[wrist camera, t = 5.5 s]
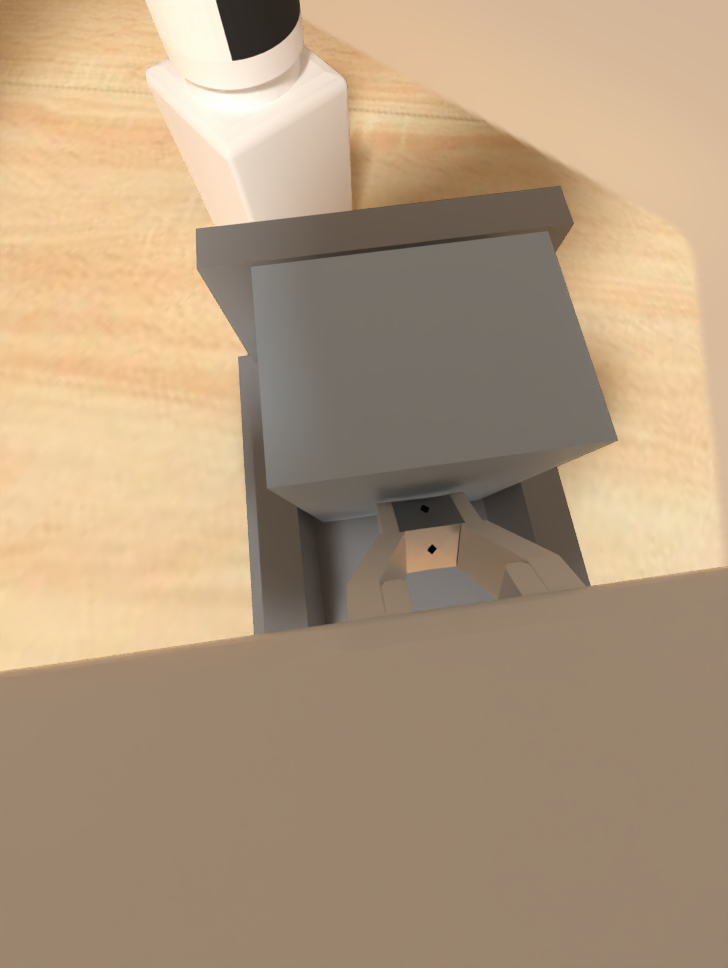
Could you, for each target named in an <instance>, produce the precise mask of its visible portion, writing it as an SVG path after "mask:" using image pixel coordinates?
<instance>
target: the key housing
mask: <svg viewBox="0 0 728 968" xmlns="http://www.w3.org/2000/svg"><path fill="white" fill-rule="evenodd" d="M573 224H574V223H573V220H572V218H571V215H570V212H569V209H568V206H567V204H566V201H565V198H564V195H563V193H562V190H561V187H560V186H556V187H548V188H539V189H531V190H522V191H514V192H505V193H497V194H488V195H480V196H471V197H463V198H454V199H446V200H437V201H429V202H420V203H412V204H403V205H395V206H386V207H378V208H369V209H360V210H352V211H343V212H335V213H326V214H318V215H309V216H301V217H292V218H284V219H275V220H267V221H258V222H250V223H241V224H233V225H224V226H216V227H207V228H199V229H196V254H197V270H198V272H199V273H200V275H201V276H202V278H203V280H204V281H205V283H206V285H207V286H208V288H209V290H210V291H211V293H212V295H213V296H214V298H215V300H216V301H217V303H218V305H219V306H220V308H221V309H222V311H223V313H224V314H225V316H226V318H227V319H228V321H229V323H230V324H231V326H232V328H233V329H234V331H235V333H236V334H237V336H238V337H239V339H240V341H241V342H242V344H243V346H244V347H245V349H246V351H247V352H248V354H249V355H247V356H240V357H238V362H239V379H240V397H241V414H242V432H243V449H244V467H245V484H246V502H247V519H248V537H249V554H250V572H251V589H252V607H253V624H254V635H257V634H264V633H271V632H278V631H285V630H292V629H299V628H306V627H312V626H319V625H326V624H333V623H340V622H347V621H348V608H347V584H348V582H349V581H350V579H351V578H352V576H353V574H354V573H355V571H356V570H357V568H358V567H359V565H360V564H361V562H362V560H363V559H364V557H365V556H366V554H367V553H368V551H369V549H370V548H371V546H372V545H373V543H374V542H375V540H376V539H377V537H378V536H379V531H378V521H377V515H372V516H365V517H358V518H351V519H344V520H337V521H330V522H322V521H321V520H319V519H317V518H316V517H314V516H312V515H311V514H309V513H307V512H306V511H304V510H302V509H301V508H299V507H297V506H296V505H294V504H292V503H291V502H289V501H287V500H286V499H284V498H282V497H281V496H279V495H277V494H276V493H274V492H272V491H271V490H269V489H267V481H266V467H265V454H264V440H263V426H262V412H261V398H260V385H259V371H258V357H257V343H256V329H255V316H254V302H253V288H252V274H251V267H254V266H263V265H271V264H279V263H288V262H296V261H304V260H312V259H321V258H329V257H337V256H346V255H354V254H362V253H370V252H379V251H387V250H395V249H404V248H412V247H420V246H429V245H437V244H445V243H453V242H462V241H470V240H478V239H487V238H495V237H503V236H511V235H520V234H528V233H536V232H545V231H548V233H549V236H550V239H551V242H552V245H553V248H554V251H555V252H556V250H557V249H558V247H559V246H560V244H561V243H562V241H563V239H564V238H565V236H566V235H567V233H568V232H569V230H570V229H571V227H572V225H573ZM470 503H471V504H472V506H473V507H474V509H475V510H476V512H477V513H478V515H479V516H480V518H481V519H482V521H486V520H487V521H489V522H491V523H494V524H496V525H498V526H500V527H502V528H504V529H506V530H508V531H510V532H512V533H514V534H516V535H518V536H520V537H522V538H524V539H526V540H529V541H531V542H533V543H535V544H537V545H539V546H541V547H543V548H545V549H547V550H549V551H551V552H553V553H555V554H557V555H559V556H560V557H561V558H562V559H563V560H564V561H565V563H566V564H567V565H568V566H569V567H570V568H571V569H572V571H573V572H574V573H575V574H576V575H577V576H578V578H579V579H580V580H581V581H582V582H583V583H584V584H585V586H586V587H588V586H590V582H589V579H588V575H587V572H586V568H585V565H584V561H583V558H582V554H581V551H580V547H579V544H578V540H577V536H576V533H575V529H574V526H573V522H572V519H571V515H570V512H569V508H568V505H567V501H566V498H565V494H564V491H563V487H562V484H561V480H560V477H559V473H558V469H557V467H555V468H552V469H550V470H548V471H545V472H543V473H540V474H538V475H536V476H533V477H531V478H529V479H526V480H524V481H522V482H519V483H517V484H515V485H512V486H510V487H508V488H505V489H503V490H501V491H498V492H496V493H494V494H491V495H489V496H487V497H484V498H482V499H480V500H477V501H473V502H470ZM405 582H406V585H407V588H408V592H409V596H410V599H411V603H412V607H413V610H414V612H415V611H422V610H429V609H436V608H443V607H450V606H457V605H464V604H470V603H477V602H484V601H491V600H496V599H495V598H494V597H493V596H491V595H490V594H489V593H488V592H487V591H485V590H484V589H483V588H482V587H480V586H479V585H478V584H477V583H475V582H474V581H473V580H472V579H471V578H469V577H468V576H467V575H466V574H464V573H463V572H462V571H461V570H460V569H458V568H457V566H454V567H445V568H437V569H429V570H423V571H417V572H411V573H407V575H406V578H405Z"/></svg>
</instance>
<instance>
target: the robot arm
mask: <svg viewBox="0 0 728 968" xmlns="http://www.w3.org/2000/svg"><path fill="white" fill-rule="evenodd" d="M376 511H377V521H378V531H379V536H378V537H377V539H376V540H375V542H374V543H373V545H372V546H371V548H370V549H369V551H368V553H367V554H366V556H365V557H364V559H363V560H362V562H361V564H360V565H359V567H358V568H357V570H356V571H355V573H354V574H353V576H352V578H351V579H350V581H349V582H348V584H347V608H348V621H347V622H340V623H333V624H326V625H319V626H312V627H306V628H299V629H292V630H285V631H278V632H271V633H264V634H257V635H251V636H244V637H237V638H230V639H223V640H216V641H209V642H202V643H196V644H189V645H182V646H175V647H168V648H161V649H154V650H147V651H141V652H134V653H127V654H120V655H113V656H106V657H99V658H92V659H86V660H79V661H72V662H65V663H58V664H51V665H44V666H37V667H29V668H21V669H13V670H6V671H1V672H0V968H728V566H725V567H718V568H711V569H704V570H697V571H691V572H684V573H677V574H670V575H663V576H656V577H649V578H643V579H636V580H629V581H622V582H615V583H608V584H601V585H595V586H588V587H586V586H585V584H584V583H583V582H582V581H581V580H580V579H579V578H578V576H577V575H576V574H575V573H574V572H573V571H572V569H571V568H570V567H569V566H568V565H567V564H566V563H565V561H564V560H563V559H562V558H561V557H560V556H559V555H557V554H555V553H553V552H551V551H549V550H547V549H545V548H543V547H541V546H539V545H537V544H535V543H533V542H531V541H529V540H526V539H524V538H522V537H520V536H518V535H516V534H514V533H512V532H510V531H508V530H506V529H504V528H502V527H500V526H498V525H496V524H494V523H491V522H489V521H487V520H486V521H482V519H481V518H480V516H479V515H478V513H477V512H476V510H475V509H474V507H473V506H472V504H471V503H470V501H469V500H468V498H467V497H466V495H465V494H464V493H463V492H457V493H451V494H447V495H441V496H434V497H427V498H420V499H419V498H418V499H409V500H400V501H392V502H384V503H377V504H376ZM454 566H457V568H458V569H460V570H461V571H462V572H463V573H464V574H466V575H467V576H468V577H469V578H471V579H472V580H473V581H474V582H475V583H477V584H478V585H479V586H480V587H482V588H483V589H484V590H485V591H487V592H488V593H489V594H490V595H491V596H493V597H494V598H495V599H496V600H491V601H484V602H477V603H470V604H464V605H457V606H450V607H443V608H436V609H429V610H422V611H415V612H414V610H413V607H412V603H411V599H410V596H409V592H408V588H407V585H406V582H405V578H406V575H407V573H411V572H417V571H423V570H429V569H437V568H445V567H454Z"/></svg>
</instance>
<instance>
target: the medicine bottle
mask: <svg viewBox="0 0 728 968" xmlns="http://www.w3.org/2000/svg"><path fill="white" fill-rule="evenodd" d="M145 1H146V4H147V6H148V9H149V11H150V14H151V16H152V19H153V21H154V23H155V26H156V28H157V31H158V33H159V36H160V38H161V41H162V43H163V46H164V48H165V51H166V53H167V56H168V58H166V59H165V60H163V61H161V62H159V63H157V64H155V65H153V66H152V67H150V68H148V69H147V70H146V75H145V77H146V80H147V83H148V85H149V87H150V89H151V91H152V94H153V96H154V98H155V100H156V102H157V104H158V106H159V108H160V111H161V113H162V115H163V117H164V119H165V121H166V123H167V125H168V128H169V130H170V132H171V134H172V136H173V138H174V140H175V142H176V145H177V147H178V149H179V151H180V153H181V155H182V157H183V159H184V162H185V164H186V166H187V168H188V170H189V172H190V174H191V176H192V179H193V181H194V183H195V185H196V187H197V189H198V191H199V194H200V196H201V198H202V200H203V202H204V204H205V206H206V208H207V211H208V213H209V215H210V217H211V219H212V221H213V223H214V225H215V226H224V225H233V224H241V223H250V222H258V221H267V220H275V219H284V218H292V217H301V216H309V215H318V214H326V213H335V212H343V211H352V210H353V208H352V183H351V159H350V134H349V109H348V87H347V82H346V80H345V79H344V78H343V77H342V76H341V75H340V74H339V73H338V72H336V71H335V70H334V69H333V68H331V67H330V66H329V65H328V64H326V63H325V62H324V61H323V60H322V59H320V58H319V57H318V56H317V55H315V54H314V53H313V52H312V51H310V50H309V49H308V48H307V47H306V46H304V45H303V43H304V35H303V26H302V18H301V10H300V2H299V0H145Z"/></svg>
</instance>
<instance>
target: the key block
mask: <svg viewBox="0 0 728 968" xmlns="http://www.w3.org/2000/svg"><path fill="white" fill-rule="evenodd" d="M251 274H252V288H253V302H254V316H255V329H256V343H257V357H258V371H259V385H260V398H261V412H262V426H263V440H264V454H265V467H266V481H267V489H269V490H271V491H272V492H274V493H276V494H277V495H279V496H281V497H282V498H284V499H286V500H287V501H289V502H291V503H292V504H294V505H296V506H297V507H299V508H301V509H302V510H304V511H306V512H307V513H309V514H311V515H312V516H314V517H316V518H317V519H319V520H321V521H322V522H330V521H337V520H344V519H351V518H358V517H365V516H372V515H377V511H376V504H377V503H384V502H392V501H400V500H409V499H418V498H419V499H420V498H427V497H434V496H441V495H447V494H451V493H457V492H463V493H464V494H465V495H466V497H467V498H468V500H469V501H470V502H473V501H477V500H480V499H482V498H484V497H487V496H489V495H491V494H494V493H496V492H498V491H501V490H503V489H505V488H508V487H510V486H512V485H515V484H517V483H519V482H522V481H524V480H526V479H529V478H531V477H533V476H536V475H538V474H540V473H543V472H545V471H548V470H550V469H552V468H555V467H557V466H559V465H562V464H564V463H566V462H569V461H571V460H573V459H576V458H578V457H580V456H583V455H585V454H587V453H590V452H592V451H594V450H597V449H599V448H601V447H604V446H606V445H608V444H611V443H613V442H615V441H618V439H617V436H616V433H615V430H614V427H613V424H612V421H611V418H610V415H609V412H608V409H607V406H606V403H605V400H604V397H603V394H602V391H601V388H600V385H599V382H598V379H597V376H596V373H595V370H594V367H593V364H592V361H591V358H590V355H589V352H588V349H587V346H586V343H585V340H584V337H583V334H582V331H581V328H580V325H579V322H578V319H577V316H576V313H575V310H574V307H573V304H572V301H571V298H570V295H569V292H568V289H567V286H566V283H565V280H564V277H563V274H562V271H561V268H560V265H559V262H558V259H557V256H556V254H555V251H554V248H553V245H552V242H551V239H550V236H549V233H548V231H545V232H536V233H528V234H520V235H511V236H503V237H495V238H487V239H478V240H470V241H462V242H453V243H445V244H437V245H429V246H420V247H412V248H404V249H395V250H387V251H379V252H370V253H362V254H354V255H346V256H337V257H329V258H321V259H312V260H304V261H296V262H288V263H279V264H271V265H263V266H254V267H251Z"/></svg>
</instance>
